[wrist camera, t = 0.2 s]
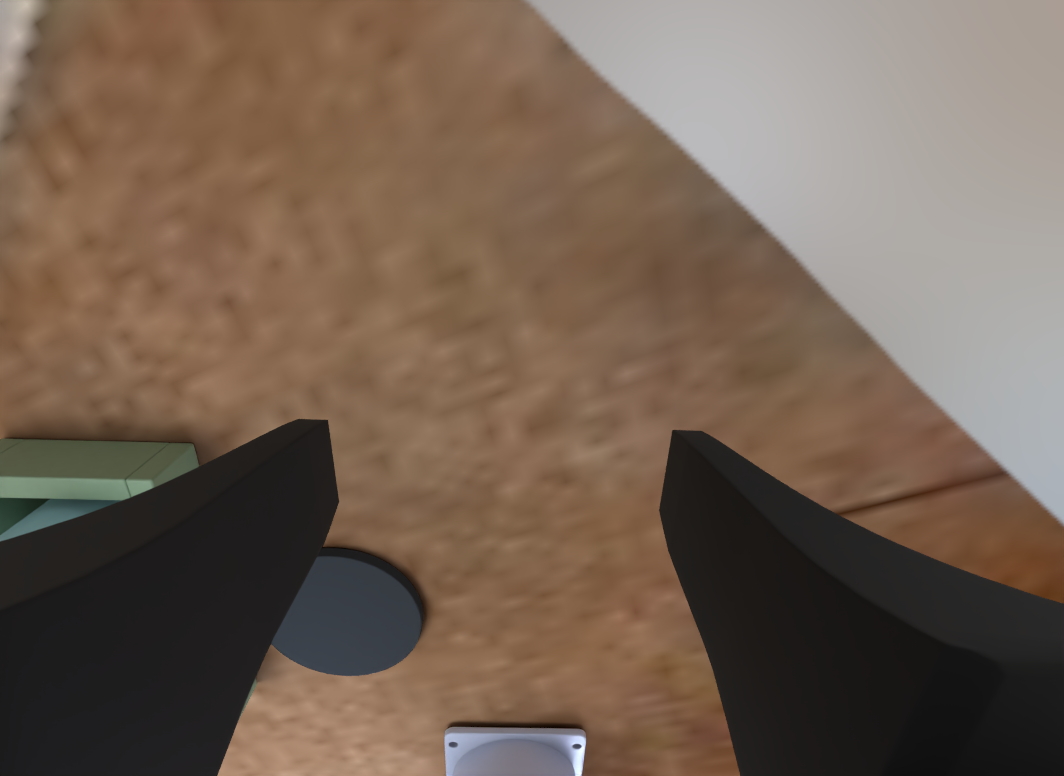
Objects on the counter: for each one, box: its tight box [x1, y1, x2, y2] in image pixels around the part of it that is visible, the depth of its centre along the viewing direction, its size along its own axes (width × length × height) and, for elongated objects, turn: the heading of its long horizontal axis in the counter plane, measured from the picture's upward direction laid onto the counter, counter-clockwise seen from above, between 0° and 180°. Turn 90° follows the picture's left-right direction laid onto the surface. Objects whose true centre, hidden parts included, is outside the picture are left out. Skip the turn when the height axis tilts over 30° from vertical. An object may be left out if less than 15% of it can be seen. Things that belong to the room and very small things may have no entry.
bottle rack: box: [0, 439, 257, 718], centre depth 24 cm, size 8×15×3 cm, turn 178°
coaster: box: [271, 548, 423, 676], centre depth 26 cm, size 8×8×1 cm
